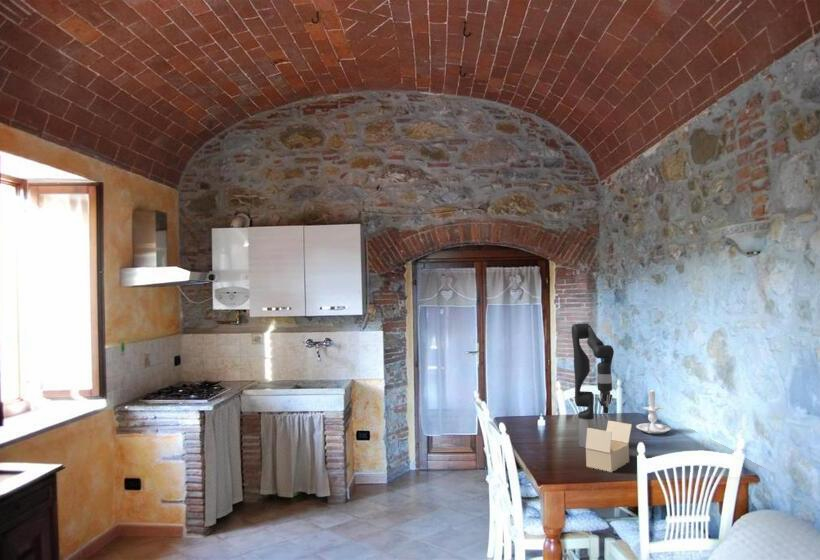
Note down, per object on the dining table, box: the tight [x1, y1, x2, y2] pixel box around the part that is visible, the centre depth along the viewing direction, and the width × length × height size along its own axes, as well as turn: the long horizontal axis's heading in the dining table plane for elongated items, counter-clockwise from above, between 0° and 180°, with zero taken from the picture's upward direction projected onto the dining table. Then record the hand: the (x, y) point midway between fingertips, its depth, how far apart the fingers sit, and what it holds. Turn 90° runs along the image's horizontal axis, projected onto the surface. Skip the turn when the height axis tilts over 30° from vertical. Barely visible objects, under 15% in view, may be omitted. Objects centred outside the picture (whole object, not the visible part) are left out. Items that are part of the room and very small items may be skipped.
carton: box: [585, 441, 630, 474], centre depth 287 cm, size 22×14×10 cm, turn 134°
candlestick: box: [635, 389, 671, 435], centre depth 343 cm, size 21×25×28 cm
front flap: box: [585, 428, 612, 453], centre depth 281 cm, size 11×14×1 cm
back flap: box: [605, 420, 633, 445], centre depth 297 cm, size 11×14×1 cm
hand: (605, 413), depth 288 cm, fingers closed
